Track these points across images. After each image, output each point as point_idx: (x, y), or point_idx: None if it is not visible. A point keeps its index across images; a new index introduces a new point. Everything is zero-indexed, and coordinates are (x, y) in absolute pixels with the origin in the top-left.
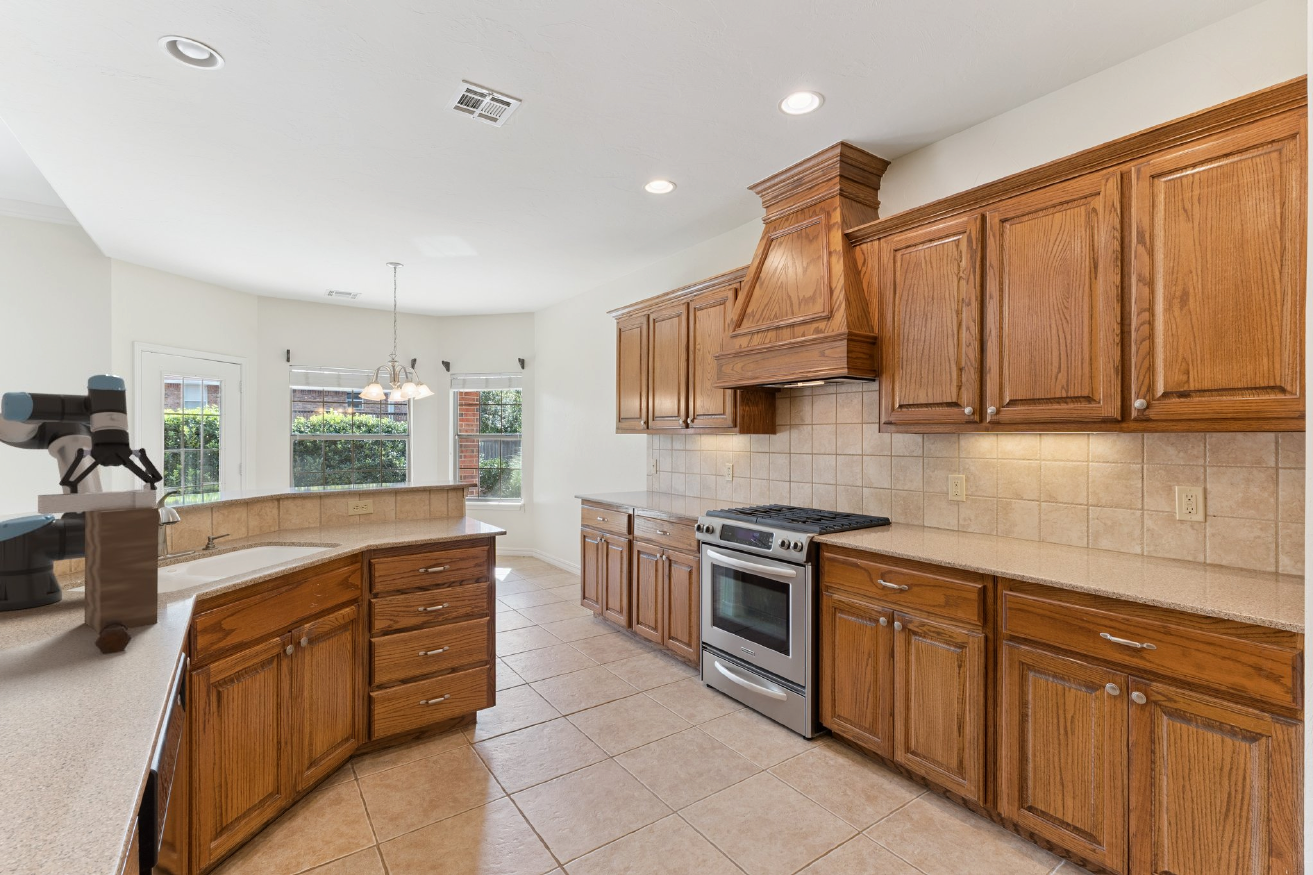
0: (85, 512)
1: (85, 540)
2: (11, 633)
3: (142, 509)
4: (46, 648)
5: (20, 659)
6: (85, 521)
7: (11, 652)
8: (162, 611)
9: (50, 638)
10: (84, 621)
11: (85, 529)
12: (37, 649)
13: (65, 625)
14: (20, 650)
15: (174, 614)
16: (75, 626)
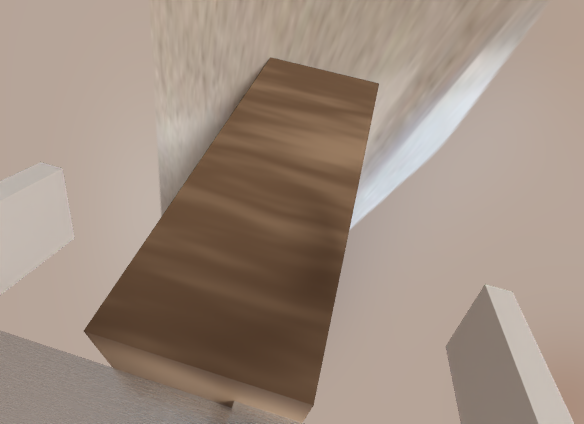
0: (100, 308)
1: (170, 207)
2: (149, 3)
3: None
4: (194, 168)
5: (167, 184)
6: (126, 270)
7: (157, 145)
8: (408, 122)
9: (203, 121)
10: (269, 59)
11: (146, 242)
12: (184, 162)
13: (238, 42)
14: (166, 146)
15: (398, 167)
16: (249, 74)
